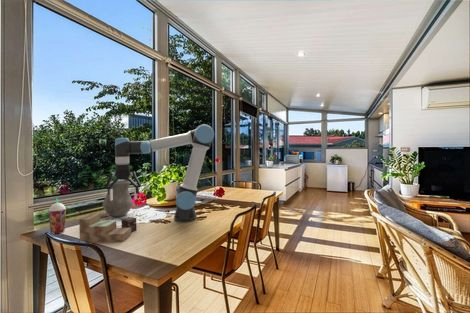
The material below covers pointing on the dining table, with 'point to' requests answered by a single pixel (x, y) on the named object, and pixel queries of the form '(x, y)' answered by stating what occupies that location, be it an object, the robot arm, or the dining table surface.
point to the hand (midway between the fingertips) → (123, 199)
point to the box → (129, 223)
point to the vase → (118, 200)
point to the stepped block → (101, 230)
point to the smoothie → (57, 217)
